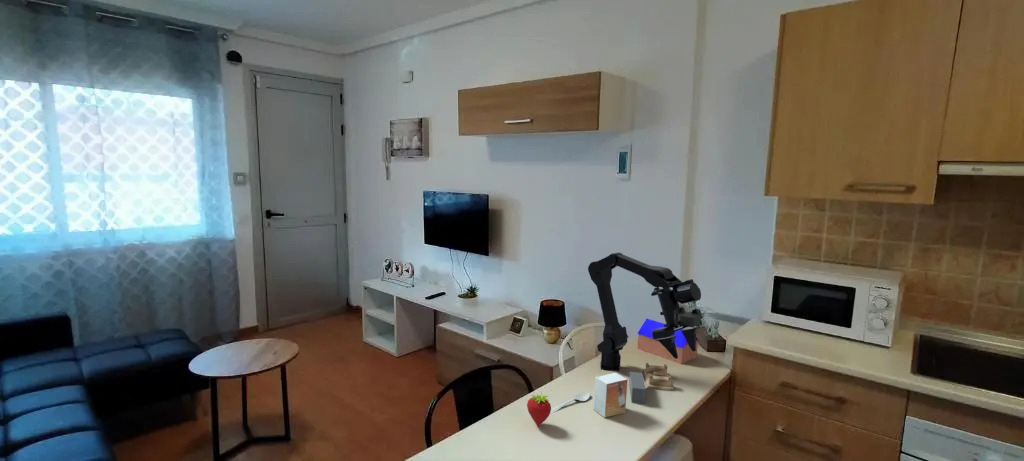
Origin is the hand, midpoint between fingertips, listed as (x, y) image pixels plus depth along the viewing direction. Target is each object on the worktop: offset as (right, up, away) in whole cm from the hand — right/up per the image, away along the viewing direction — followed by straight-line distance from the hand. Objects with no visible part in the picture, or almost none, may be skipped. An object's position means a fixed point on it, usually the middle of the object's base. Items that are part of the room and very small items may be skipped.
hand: (685, 354), depth 153 cm
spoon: (-39, -14, -6) cm, 42 cm away
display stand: (-5, -12, +13) cm, 18 cm away
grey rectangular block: (-15, -14, +2) cm, 20 cm away
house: (+6, -9, +38) cm, 40 cm away
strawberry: (-48, -15, -17) cm, 53 cm away
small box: (-26, -15, -9) cm, 31 cm away
